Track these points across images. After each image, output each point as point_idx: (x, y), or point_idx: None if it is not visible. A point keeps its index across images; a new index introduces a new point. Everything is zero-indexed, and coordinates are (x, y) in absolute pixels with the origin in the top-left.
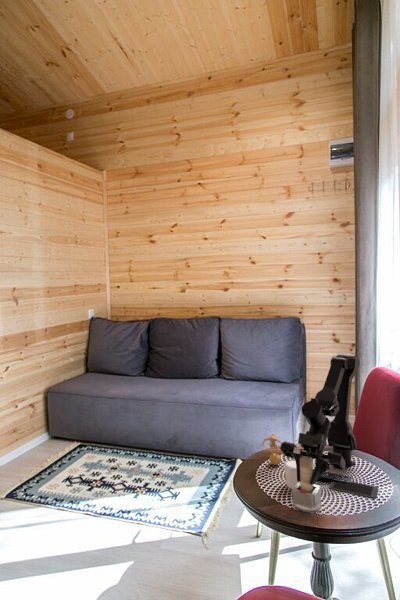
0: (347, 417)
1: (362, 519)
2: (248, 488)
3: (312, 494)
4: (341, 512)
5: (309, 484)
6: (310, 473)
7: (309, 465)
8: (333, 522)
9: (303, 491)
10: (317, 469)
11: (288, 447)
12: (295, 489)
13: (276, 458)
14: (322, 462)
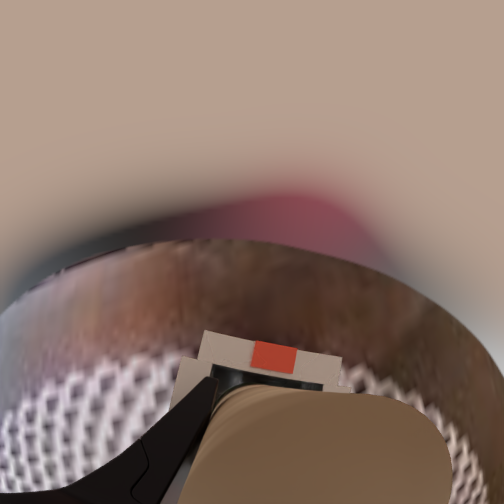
0: None
1: (14, 352)
2: (494, 407)
3: (200, 353)
4: (81, 391)
5: (229, 397)
6: (216, 419)
7: (225, 428)
8: (110, 299)
9: (267, 352)
10: (121, 472)
11: None
12: (330, 378)
13: None
14: (4, 497)
